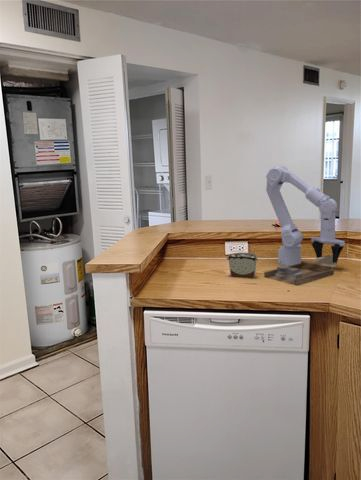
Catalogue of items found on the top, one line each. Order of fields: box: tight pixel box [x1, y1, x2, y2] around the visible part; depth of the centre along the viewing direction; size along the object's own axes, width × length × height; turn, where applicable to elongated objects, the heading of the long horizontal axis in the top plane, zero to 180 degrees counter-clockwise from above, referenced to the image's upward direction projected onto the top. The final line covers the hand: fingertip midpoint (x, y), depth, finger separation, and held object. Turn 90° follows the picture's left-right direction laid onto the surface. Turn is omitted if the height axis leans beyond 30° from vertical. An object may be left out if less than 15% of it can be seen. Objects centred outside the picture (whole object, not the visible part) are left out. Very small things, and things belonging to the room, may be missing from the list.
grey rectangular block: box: [315, 254, 338, 269], centre depth 172 cm, size 2×11×6 cm, turn 125°
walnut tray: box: [263, 260, 335, 287], centre depth 162 cm, size 16×22×4 cm
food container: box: [226, 252, 259, 280], centre depth 165 cm, size 12×6×10 cm, turn 65°
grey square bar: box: [275, 265, 302, 282], centre depth 159 cm, size 10×4×4 cm, turn 35°
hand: (327, 260), depth 172 cm, fingers open, 7 cm apart
